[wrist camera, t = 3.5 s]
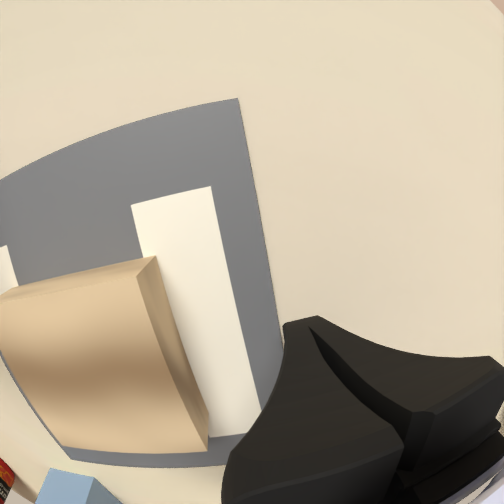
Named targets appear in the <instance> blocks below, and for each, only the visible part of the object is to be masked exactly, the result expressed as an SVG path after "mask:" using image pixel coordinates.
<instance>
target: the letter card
mask: <svg viewBox="0 0 504 504" xmlns="http://www.w3.org/2000/svg"><path fill="white" fill-rule="evenodd" d="M154 255H156V258H157V262H158V266H159V269H160V273H161V277H162V280H163V284H164V287H165V291H166V294H167V297H168V301H169V304H170V307H171V310H172V314H173V317H174V320H175V323H176V326H177V329H178V332H179V335H180V338H181V341H182V344H183V347H184V350H185V353H186V355H187V358H188V361H189V364H190V366H191V369H192V372H193V375H194V377H195V380H196V382H197V385H198V388H199V390H200V393H201V395H202V398H203V400H204V403H205V405H206V407H207V410H208V412H209V420H208V451H204V452H190V453H162V454H149V453H121V452H108V451H97V450H88V449H81V448H74V447H68V446H62V445H61V444H60V442H59V441H58V440H57V439H56V437H55V436H54V435H53V434H52V432H51V431H50V430H49V428H48V427H47V426H46V424H45V423H44V422H43V420H42V419H41V417H40V416H39V415H38V413H37V412H36V410H35V409H34V407H33V406H32V404H31V403H30V401H29V400H28V398H27V397H26V395H25V393H24V392H23V390H22V389H21V387H20V385H19V384H18V382H17V380H16V378H15V377H14V375H13V373H12V371H11V370H10V368H9V366H8V364H7V362H6V360H5V358H4V356H3V354H2V352H1V350H0V356H1V358H2V360H3V362H4V364H5V366H6V367H7V369H8V371H9V373H10V375H11V376H12V378H13V380H14V382H15V383H16V385H17V387H18V388H19V390H20V392H21V393H22V395H23V396H24V398H25V399H26V401H27V403H28V404H29V406H30V407H31V409H32V410H33V411H34V413H35V414H36V416H37V417H38V419H39V420H40V421H41V423H42V424H43V425H44V427H45V428H46V429H47V431H48V432H49V433H50V435H51V436H52V437H53V438H54V440H55V441H56V442H57V443H58V445H59V446H60V447H61V448H62V449H63V450H64V452H65V453H66V454H67V455H68V456H69V457H70V458H71V459H72V460H77V461H83V462H90V463H97V464H105V465H114V466H126V467H143V468H188V467H206V466H218V465H226V464H227V461H228V457H229V454H230V452H231V450H232V449H233V448H234V447H235V446H236V445H237V444H238V443H239V441H240V440H241V439H242V438H243V437H244V436H245V434H246V433H247V432H248V431H249V429H250V428H251V427H252V425H253V424H254V422H255V421H256V419H257V418H258V416H259V415H260V413H261V412H262V410H263V408H264V407H265V405H266V403H267V401H268V399H269V397H270V395H271V393H272V390H273V388H274V386H275V383H276V380H277V377H278V374H279V371H280V367H281V363H282V359H283V354H284V353H283V347H282V341H281V334H280V328H279V322H278V316H277V310H276V305H275V299H274V293H273V287H272V281H271V275H270V270H269V264H268V258H267V252H266V247H265V241H264V236H263V230H262V224H261V219H260V213H259V208H258V202H257V197H256V191H255V186H254V181H253V175H252V170H251V165H250V159H249V154H248V149H247V144H246V138H245V133H244V128H243V123H242V118H241V113H240V108H239V102H238V98H235V99H229V100H223V101H218V102H212V103H207V104H202V105H198V106H193V107H189V108H184V109H180V110H176V111H172V112H168V113H164V114H160V115H157V116H153V117H149V118H146V119H142V120H139V121H136V122H133V123H129V124H126V125H123V126H120V127H117V128H114V129H111V130H108V131H106V132H103V133H100V134H97V135H95V136H92V137H89V138H87V139H84V140H82V141H79V142H77V143H74V144H72V145H69V146H67V147H65V148H62V149H60V150H58V151H56V152H53V153H51V154H49V155H47V156H45V157H43V158H41V159H39V160H37V161H35V162H33V163H31V164H29V165H27V166H25V167H23V168H21V169H19V170H17V171H15V172H13V173H12V174H10V175H8V176H6V177H4V178H3V179H1V180H0V295H1V294H3V293H4V292H6V291H8V290H9V289H11V288H13V287H17V286H21V285H25V284H29V283H33V282H38V281H42V280H46V279H50V278H55V277H59V276H63V275H68V274H72V273H76V272H81V271H85V270H90V269H94V268H99V267H103V266H108V265H112V264H117V263H121V262H126V261H130V260H135V259H140V258H144V257H149V256H154Z"/></svg>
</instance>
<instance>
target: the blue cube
mask: <svg viewBox="0 0 504 504" xmlns="http://www.w3.org/2000/svg"><path fill="white" fill-rule="evenodd" d="M35 504H122V503H121V502H120V501H119V500H118V499H117V498H115V497H114V496H113V495H112V494H111V493H110V492H109V491H108V490H107V489H106V488H105V487H103V486H102V485H101V484H100V483H99V482H98V481H97V480H96V479H95V478H94V477H90V476H85V475H79V474H74V473H70V472H65V471H61V470H57V469H53V468H50V470H49V472H48V474H47V476H46V478H45V481H44V483H43V485H42V488H41V490H40V492H39V495H38V497H37V500H36V502H35Z"/></svg>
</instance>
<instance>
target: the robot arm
mask: <svg viewBox="0 0 504 504" xmlns="http://www.w3.org/2000/svg"><path fill="white" fill-rule="evenodd" d="M282 327H283V333H284V340H285V345H284V354H283V359H282V363H281V367H280V371H279V374H278V377H277V380H276V383H275V386H274V388H273V390H272V393H271V395H270V397H269V399H268V401H267V403H266V405H265V407H264V408H263V410H262V412H261V413H260V415H259V416H258V418H257V419H256V421H255V422H254V424H253V425H252V427H251V428H250V429H249V431H248V432H247V433H246V434H245V436H244V437H243V438H242V439H241V440H240V441H239V443H238V444H237V445H236V446H235V447H234V448H233V449H232V450H231V452H230V454H229V457H228V461H227V464H226V468H225V472H224V476H223V482H222V490H221V502H222V504H456V503H458V502H459V501H461V500H462V499H464V498H465V497H467V496H468V495H469V494H471V493H472V492H474V491H475V490H476V489H478V488H479V487H480V486H482V485H483V484H484V483H485V482H487V481H488V480H489V479H490V478H492V477H493V476H494V475H495V474H496V475H495V476H494V478H493V479H492V481H491V482H490V483H489V485H488V486H487V487H486V488H485V489H484V490H483V491H482V492H481V494H480V495H479V496H477V497H476V498H475V499H474V500H473V501H471V502H470V503H468V504H504V437H503V436H502V435H501V434H500V432H499V431H498V430H499V429H500V427H501V423H500V422H499V421H498V420H497V419H496V418H495V417H496V415H497V413H498V411H499V409H500V407H501V405H502V403H503V401H504V367H503V366H502V365H501V364H499V363H498V362H497V361H496V360H494V359H493V358H492V357H490V356H480V357H464V358H452V357H435V356H426V355H420V354H414V353H408V352H404V351H399V350H396V349H392V348H389V347H385V346H382V345H379V344H376V343H374V342H371V341H369V340H366V339H364V338H361V337H359V336H357V335H355V334H353V333H350V332H348V331H346V330H344V329H342V328H340V327H339V326H337V325H335V324H333V323H331V322H329V321H327V320H326V319H324V318H322V317H320V316H318V315H317V316H313V317H308V318H304V319H300V320H296V321H291V322H287V323H285V324H284V325H283V326H282ZM502 468H503V469H502ZM501 469H502V470H501ZM500 470H501V471H500ZM499 471H500V472H499ZM498 472H499V473H498ZM497 473H498V474H497Z"/></svg>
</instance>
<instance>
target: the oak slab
mask: <svg viewBox="0 0 504 504" xmlns="http://www.w3.org/2000/svg"><path fill="white" fill-rule="evenodd" d="M0 350H1V352H2V354H3V356H4V358H5V360H6V362H7V364H8V366H9V368H10V370H11V371H12V373H13V375H14V377H15V378H16V380H17V382H18V384H19V385H20V387H21V389H22V390H23V392H24V393H25V395H26V397H27V398H28V400H29V401H30V403H31V404H32V406H33V407H34V409H35V410H36V412H37V413H38V415H39V416H40V417H41V419H42V420H43V422H44V423H45V424H46V426H47V427H48V428H49V430H50V431H51V432H52V434H53V435H54V436H55V437H56V439H57V440H58V441H59V442H60V444H61V445H62V446H68V447H74V448H81V449H88V450H97V451H108V452H121V453H149V454H162V453H190V452H204V451H208V420H209V412H208V410H207V407H206V405H205V403H204V400H203V398H202V395H201V393H200V390H199V388H198V385H197V382H196V380H195V377H194V375H193V372H192V369H191V366H190V364H189V361H188V358H187V355H186V353H185V350H184V347H183V344H182V341H181V338H180V335H179V332H178V329H177V326H176V323H175V320H174V317H173V314H172V310H171V307H170V304H169V301H168V297H167V294H166V291H165V287H164V284H163V280H162V277H161V273H160V269H159V266H158V262H157V258H156V255H154V256H149V257H144V258H140V259H135V260H130V261H126V262H121V263H117V264H112V265H108V266H103V267H99V268H94V269H90V270H85V271H81V272H76V273H72V274H68V275H63V276H59V277H55V278H50V279H46V280H42V281H38V282H33V283H29V284H25V285H21V286H17V287H13V288H11V289H9V290H8V291H6V292H4V293H3V294H1V295H0Z"/></svg>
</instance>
